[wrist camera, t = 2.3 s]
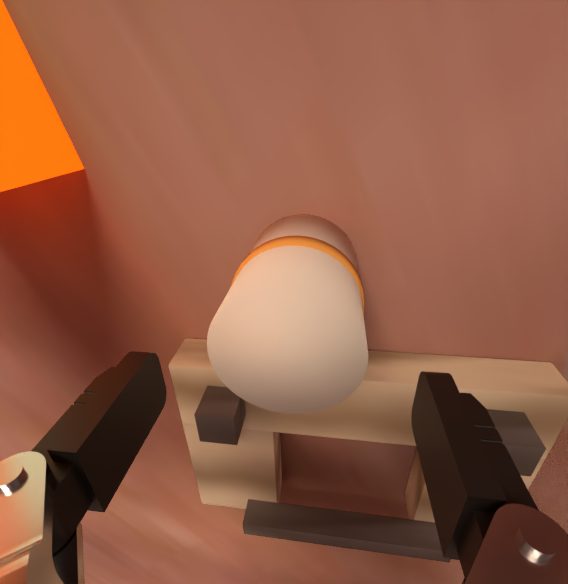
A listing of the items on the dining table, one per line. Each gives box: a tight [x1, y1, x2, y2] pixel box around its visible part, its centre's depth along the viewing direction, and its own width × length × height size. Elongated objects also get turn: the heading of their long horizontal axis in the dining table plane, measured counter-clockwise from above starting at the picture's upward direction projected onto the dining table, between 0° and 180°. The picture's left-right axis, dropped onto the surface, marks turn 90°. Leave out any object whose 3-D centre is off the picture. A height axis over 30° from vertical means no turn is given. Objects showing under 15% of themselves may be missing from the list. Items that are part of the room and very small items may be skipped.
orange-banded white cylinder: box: [207, 215, 368, 414], centre depth 14 cm, size 5×5×7 cm
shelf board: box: [168, 338, 568, 562], centre depth 20 cm, size 13×20×4 cm, turn 91°
